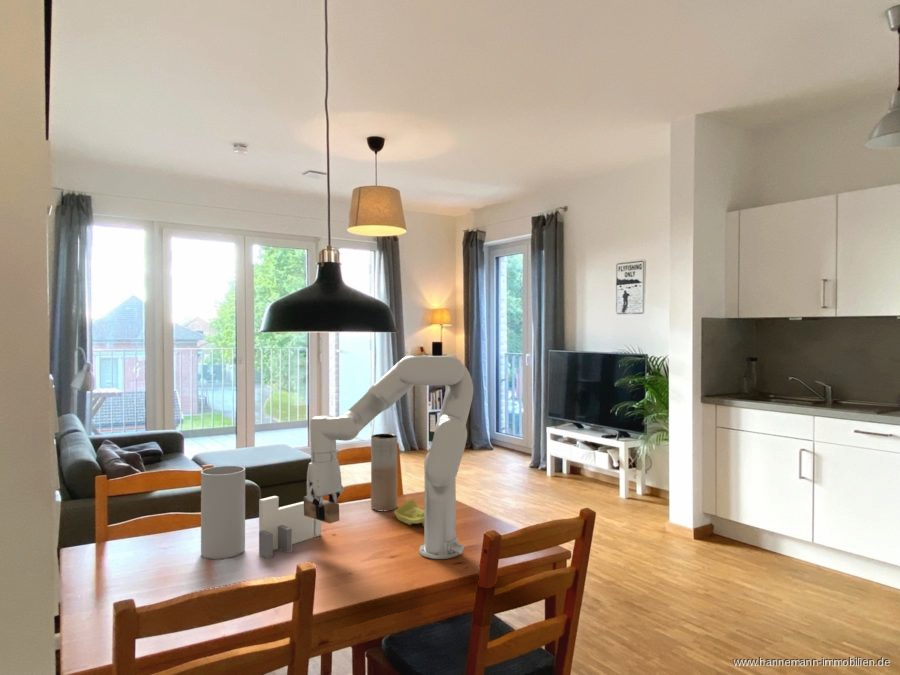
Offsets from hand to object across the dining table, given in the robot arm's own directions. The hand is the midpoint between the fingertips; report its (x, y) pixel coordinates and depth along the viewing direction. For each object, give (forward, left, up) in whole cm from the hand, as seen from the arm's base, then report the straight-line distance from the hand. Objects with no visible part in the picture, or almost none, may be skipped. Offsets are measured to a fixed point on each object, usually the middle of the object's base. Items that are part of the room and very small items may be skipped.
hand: (326, 516), depth 176 cm
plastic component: (-1, -39, -12) cm, 41 cm away
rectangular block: (+2, 0, -1) cm, 2 cm away
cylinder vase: (+25, +20, -11) cm, 34 cm away
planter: (+22, -44, -11) cm, 51 cm away
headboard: (+13, +2, -11) cm, 17 cm away
